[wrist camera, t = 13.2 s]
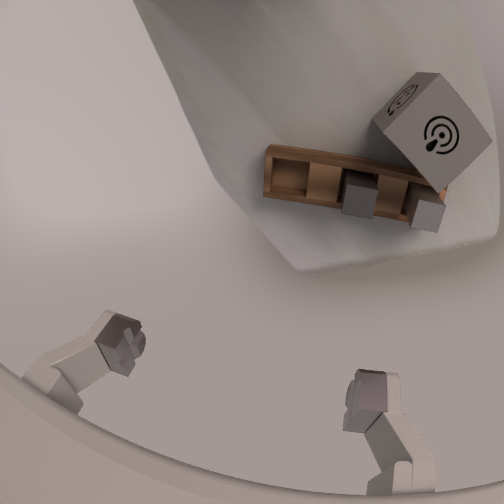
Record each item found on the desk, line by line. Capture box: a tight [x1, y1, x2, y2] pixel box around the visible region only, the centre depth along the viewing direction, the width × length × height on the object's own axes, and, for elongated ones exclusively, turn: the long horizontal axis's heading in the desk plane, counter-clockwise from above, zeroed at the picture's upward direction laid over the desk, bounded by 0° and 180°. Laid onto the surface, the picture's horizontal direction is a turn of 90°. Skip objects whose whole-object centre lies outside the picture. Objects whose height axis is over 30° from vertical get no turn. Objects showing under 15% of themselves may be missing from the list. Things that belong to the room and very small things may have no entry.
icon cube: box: [372, 72, 493, 194], centre depth 31 cm, size 10×10×10 cm
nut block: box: [402, 181, 446, 233], centre depth 37 cm, size 4×4×7 cm
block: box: [341, 168, 378, 219], centre depth 39 cm, size 4×4×7 cm
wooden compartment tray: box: [263, 144, 448, 222], centre depth 41 cm, size 7×26×4 cm, turn 88°
